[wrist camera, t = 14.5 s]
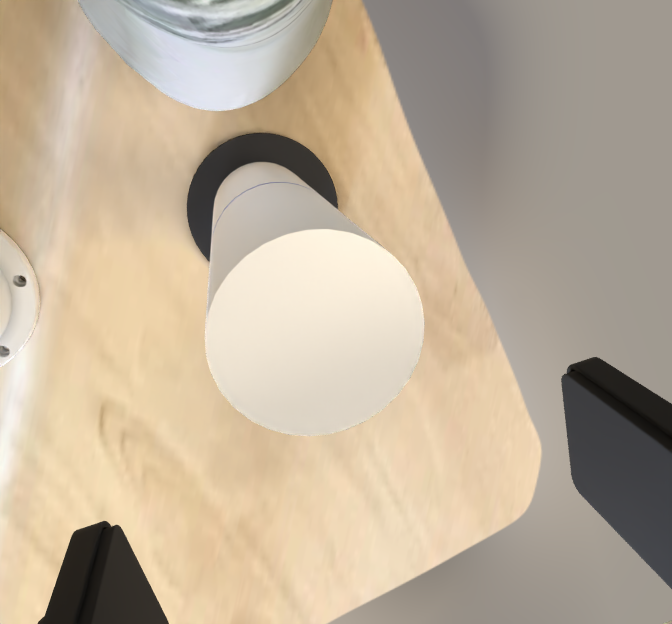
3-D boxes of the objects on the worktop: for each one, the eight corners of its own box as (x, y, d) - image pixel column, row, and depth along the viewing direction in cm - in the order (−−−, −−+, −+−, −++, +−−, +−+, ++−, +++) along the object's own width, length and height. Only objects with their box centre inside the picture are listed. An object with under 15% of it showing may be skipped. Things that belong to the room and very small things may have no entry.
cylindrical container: (306, 156, 41) (421, 215, 17) (315, 253, 43) (427, 416, 20) (206, 167, 39) (186, 244, 16) (221, 265, 42) (223, 453, 19)
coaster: (206, 294, 43) (206, 297, 43) (170, 146, 39) (169, 147, 39) (346, 266, 44) (347, 268, 44) (324, 121, 40) (325, 121, 40)
